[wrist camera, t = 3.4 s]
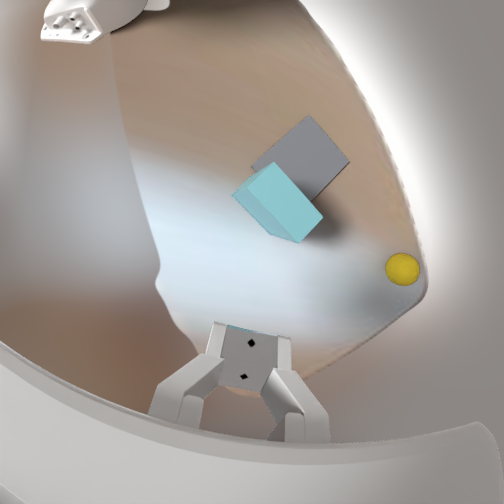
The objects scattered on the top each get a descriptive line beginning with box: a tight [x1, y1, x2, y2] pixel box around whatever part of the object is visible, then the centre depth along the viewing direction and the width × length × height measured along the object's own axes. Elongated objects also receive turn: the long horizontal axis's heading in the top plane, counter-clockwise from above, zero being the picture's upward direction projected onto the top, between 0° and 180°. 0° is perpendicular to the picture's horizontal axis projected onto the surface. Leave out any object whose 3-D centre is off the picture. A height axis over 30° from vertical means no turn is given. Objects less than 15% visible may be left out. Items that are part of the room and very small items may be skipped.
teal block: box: [232, 162, 323, 243], centre depth 34 cm, size 4×8×12 cm, turn 44°
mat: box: [251, 115, 349, 202], centre depth 39 cm, size 13×10×1 cm
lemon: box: [385, 253, 420, 286], centre depth 42 cm, size 6×6×8 cm
